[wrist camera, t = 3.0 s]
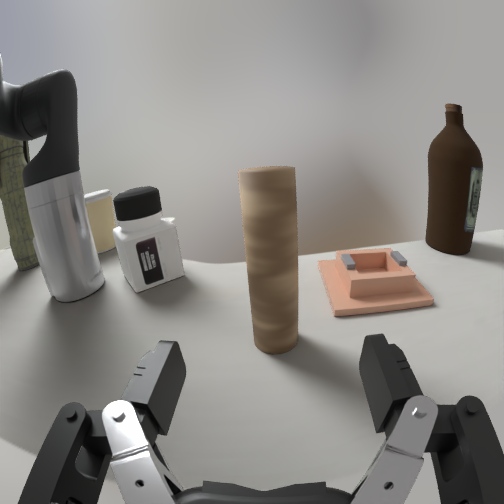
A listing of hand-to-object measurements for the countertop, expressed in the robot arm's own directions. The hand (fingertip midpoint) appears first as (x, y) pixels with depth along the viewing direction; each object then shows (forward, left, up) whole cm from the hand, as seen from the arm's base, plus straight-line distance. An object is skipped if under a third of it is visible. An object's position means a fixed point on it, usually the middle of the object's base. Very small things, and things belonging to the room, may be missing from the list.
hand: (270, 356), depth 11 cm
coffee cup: (-37, +39, -9) cm, 55 cm away
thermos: (-56, +32, -9) cm, 65 cm away
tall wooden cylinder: (0, +11, -9) cm, 14 cm away
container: (-18, +25, -9) cm, 32 cm away
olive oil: (+32, +31, -9) cm, 45 cm away
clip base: (+12, +20, -9) cm, 25 cm away
